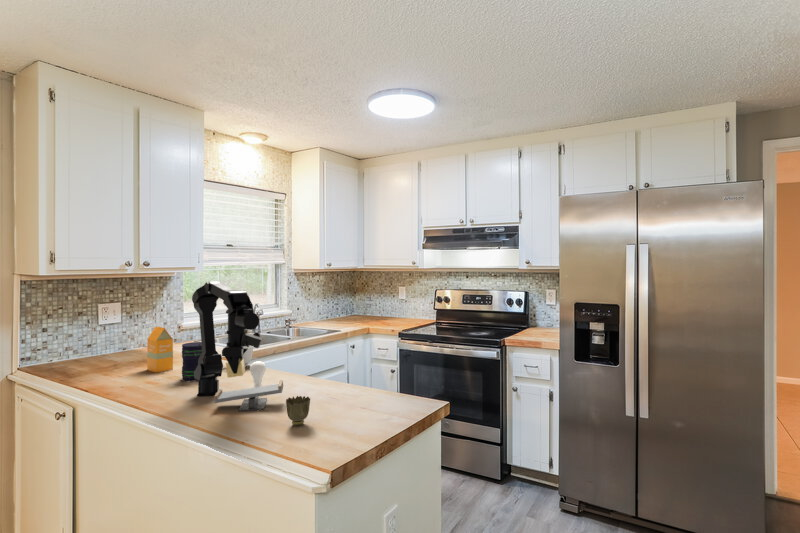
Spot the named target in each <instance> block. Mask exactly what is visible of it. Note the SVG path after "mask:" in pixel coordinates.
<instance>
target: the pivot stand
mask: <svg viewBox="0 0 800 533" xmlns="http://www.w3.org/2000/svg"><path fill="white" fill-rule="evenodd" d="M267 401H268V398H267V397H261V398H259V396H258V397H251V398H245V399H242V403H241V405H240V407H239V408H238V412H240V413H241V412H255V411H257V410H259V411H264V410H265V407H266V404H267Z"/></svg>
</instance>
